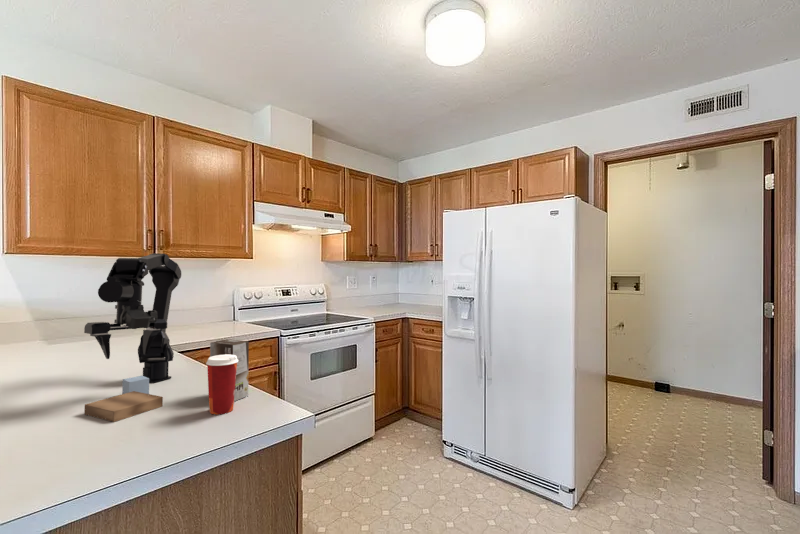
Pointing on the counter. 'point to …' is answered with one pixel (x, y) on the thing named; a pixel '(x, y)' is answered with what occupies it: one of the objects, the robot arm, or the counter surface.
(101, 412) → the base
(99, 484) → the counter surface
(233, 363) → the paper cup
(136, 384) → the block
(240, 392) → the coffee box
